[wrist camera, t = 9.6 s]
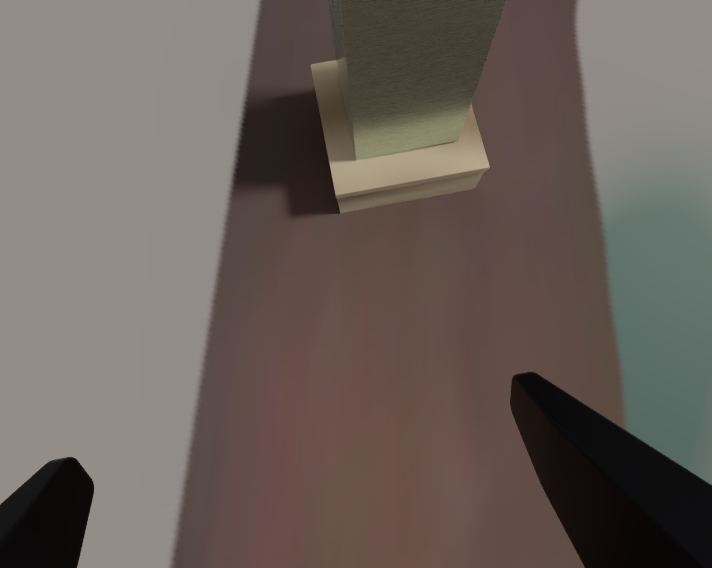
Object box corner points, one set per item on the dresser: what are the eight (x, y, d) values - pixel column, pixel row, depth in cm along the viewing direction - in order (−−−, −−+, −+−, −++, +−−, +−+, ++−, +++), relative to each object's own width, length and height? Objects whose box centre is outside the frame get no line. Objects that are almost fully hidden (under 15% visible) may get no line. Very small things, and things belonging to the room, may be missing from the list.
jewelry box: (475, 192, 25) (489, 167, 22) (339, 218, 25) (335, 195, 22) (442, 75, 27) (451, 37, 24) (316, 97, 27) (310, 62, 24)
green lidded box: (460, 141, 22) (553, -119, 11) (354, 162, 22) (329, -74, 11) (436, 51, 23) (494, -272, 12) (335, 71, 24) (294, -231, 12)
